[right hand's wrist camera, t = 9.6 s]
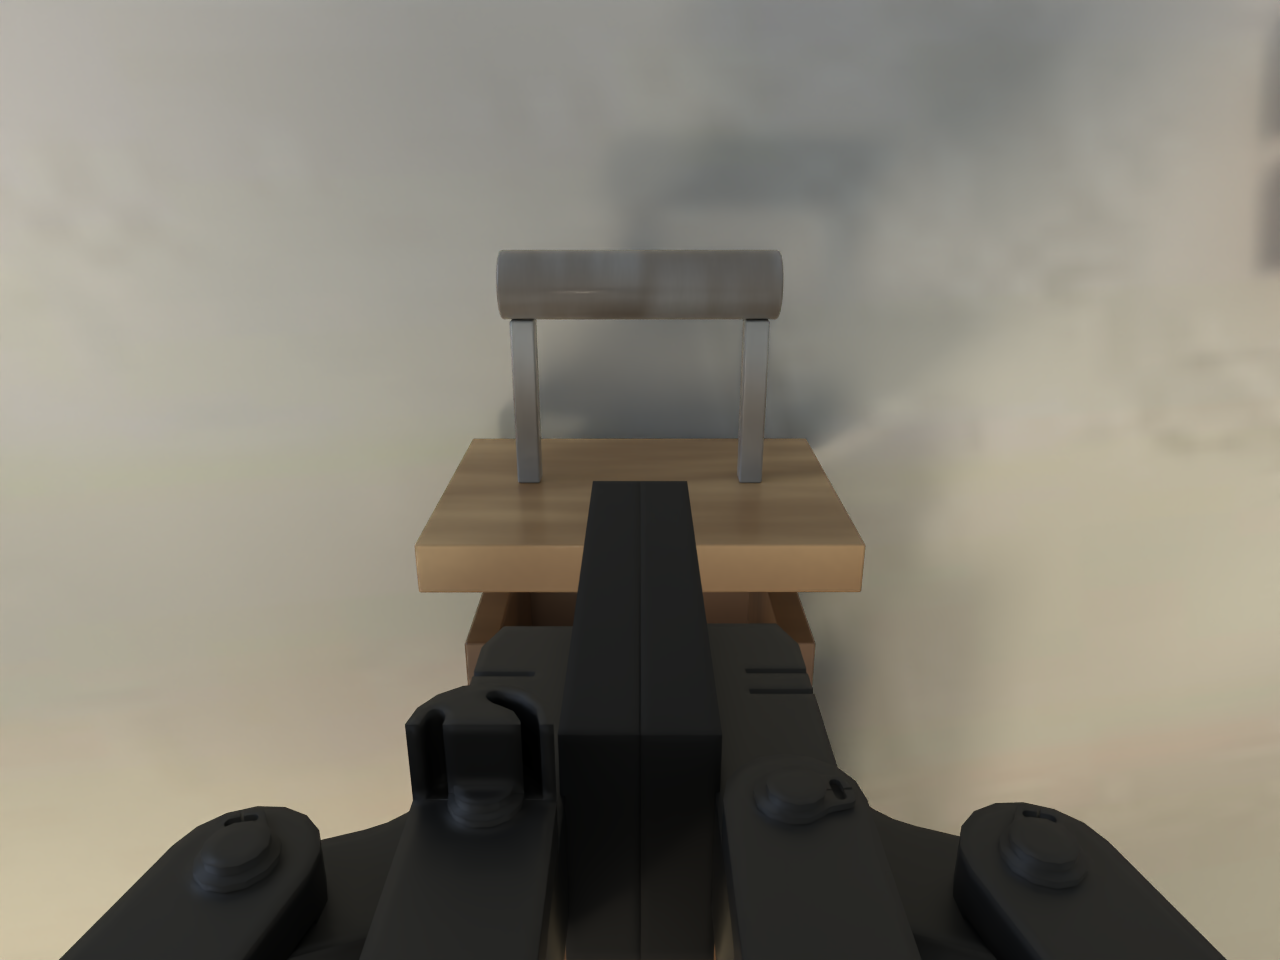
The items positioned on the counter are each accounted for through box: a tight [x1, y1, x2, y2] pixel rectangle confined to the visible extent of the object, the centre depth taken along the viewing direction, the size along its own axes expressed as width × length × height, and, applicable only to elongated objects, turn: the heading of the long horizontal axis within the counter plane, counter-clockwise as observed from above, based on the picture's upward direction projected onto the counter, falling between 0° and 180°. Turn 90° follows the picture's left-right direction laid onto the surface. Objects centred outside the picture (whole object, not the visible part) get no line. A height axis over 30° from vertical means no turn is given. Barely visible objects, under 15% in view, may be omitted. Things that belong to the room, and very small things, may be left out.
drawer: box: [415, 250, 865, 685], centre depth 26 cm, size 26×10×8 cm, turn 0°
